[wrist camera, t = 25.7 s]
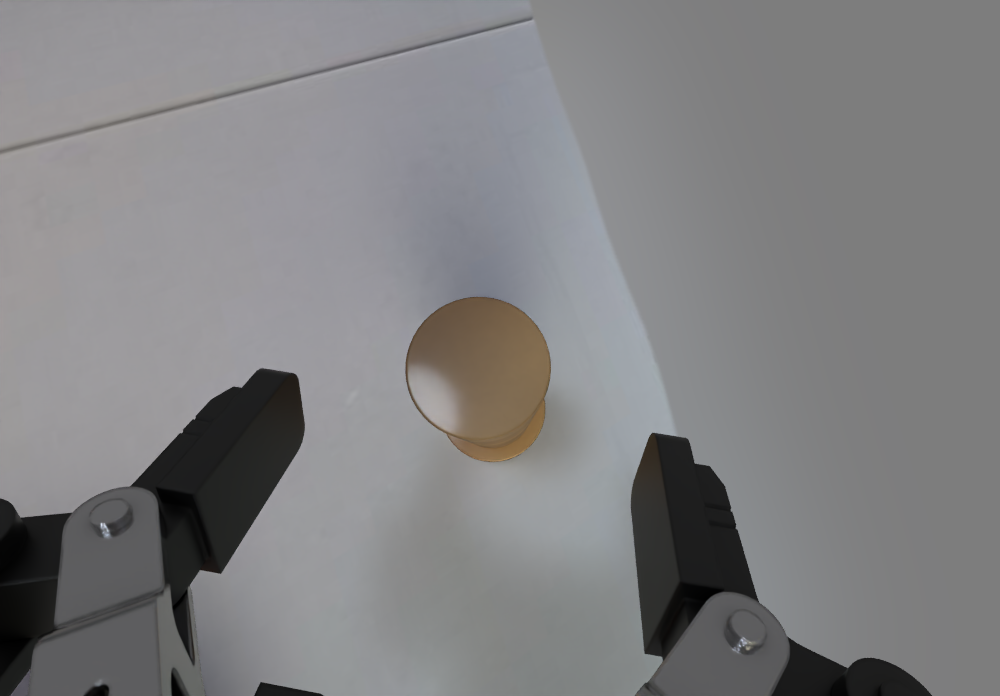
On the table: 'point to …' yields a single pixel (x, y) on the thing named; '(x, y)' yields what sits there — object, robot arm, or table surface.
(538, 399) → the wooden flanged peg
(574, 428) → the table surface
